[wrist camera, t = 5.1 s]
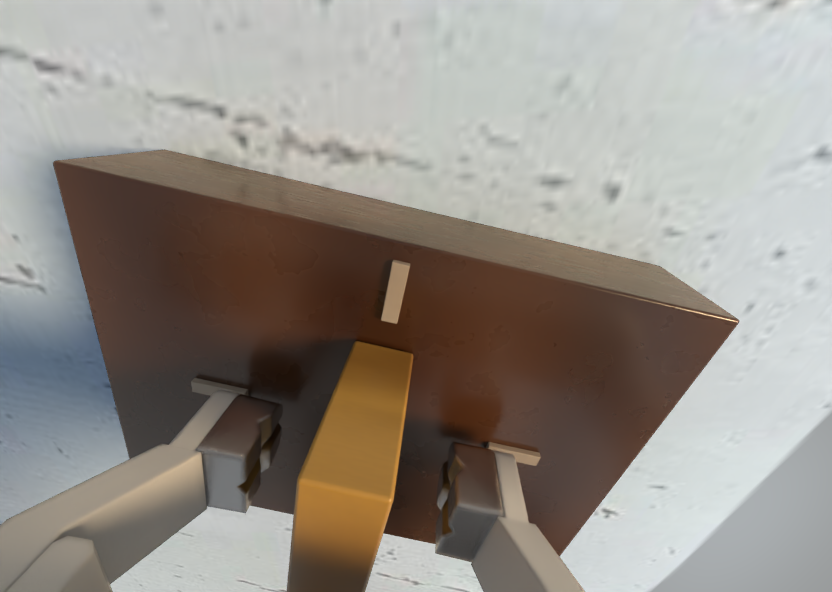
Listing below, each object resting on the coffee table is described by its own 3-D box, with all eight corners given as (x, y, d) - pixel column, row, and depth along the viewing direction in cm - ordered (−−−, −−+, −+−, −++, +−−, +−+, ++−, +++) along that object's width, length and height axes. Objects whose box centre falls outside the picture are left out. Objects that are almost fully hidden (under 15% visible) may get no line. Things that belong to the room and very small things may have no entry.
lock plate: (660, 266, 10) (749, 325, 7) (531, 485, 14) (552, 574, 11) (163, 149, 9) (40, 160, 6) (194, 412, 14) (130, 486, 11)
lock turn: (355, 338, 8) (288, 497, 5) (414, 352, 8) (391, 519, 5) (332, 475, 10) (276, 648, 7) (378, 485, 10) (345, 662, 7)
